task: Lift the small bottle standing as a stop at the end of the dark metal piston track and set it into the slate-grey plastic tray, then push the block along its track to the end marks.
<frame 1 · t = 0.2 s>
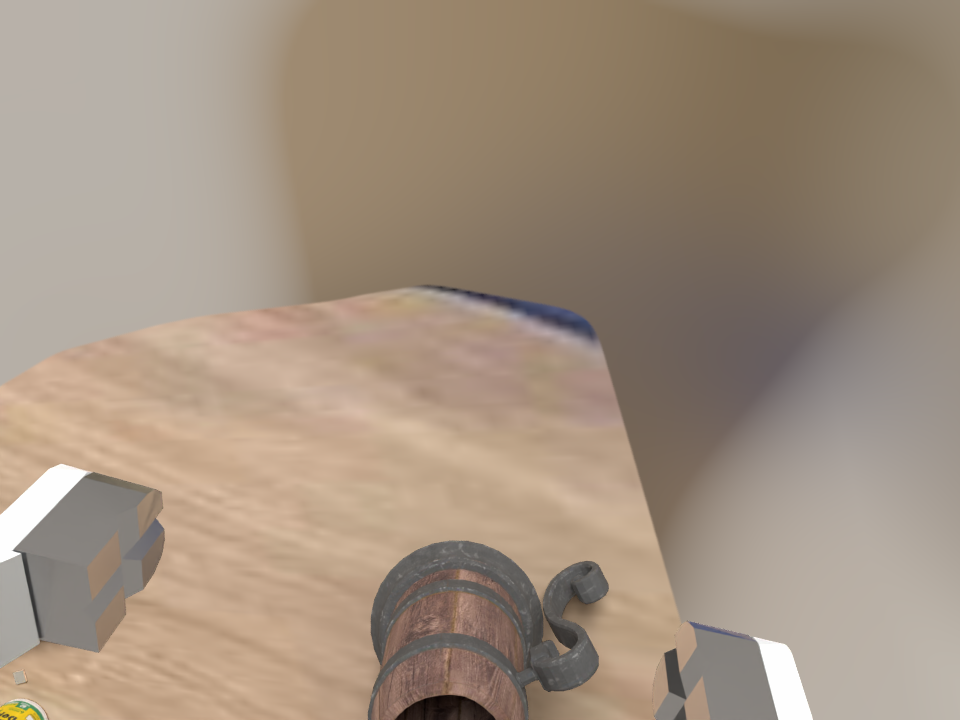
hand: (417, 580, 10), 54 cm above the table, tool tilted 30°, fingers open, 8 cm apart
tankard: (486, 609, 66), on the table
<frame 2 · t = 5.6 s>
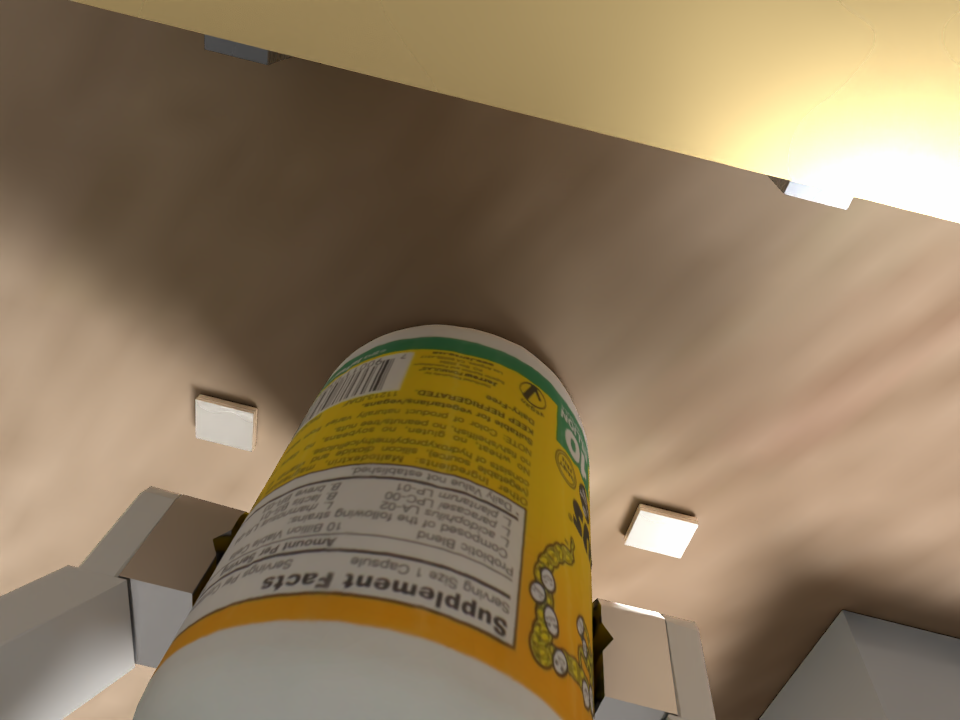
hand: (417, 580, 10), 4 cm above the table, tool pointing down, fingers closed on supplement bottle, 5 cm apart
supplement bottle: (454, 430, 14), on the table, touching gripper
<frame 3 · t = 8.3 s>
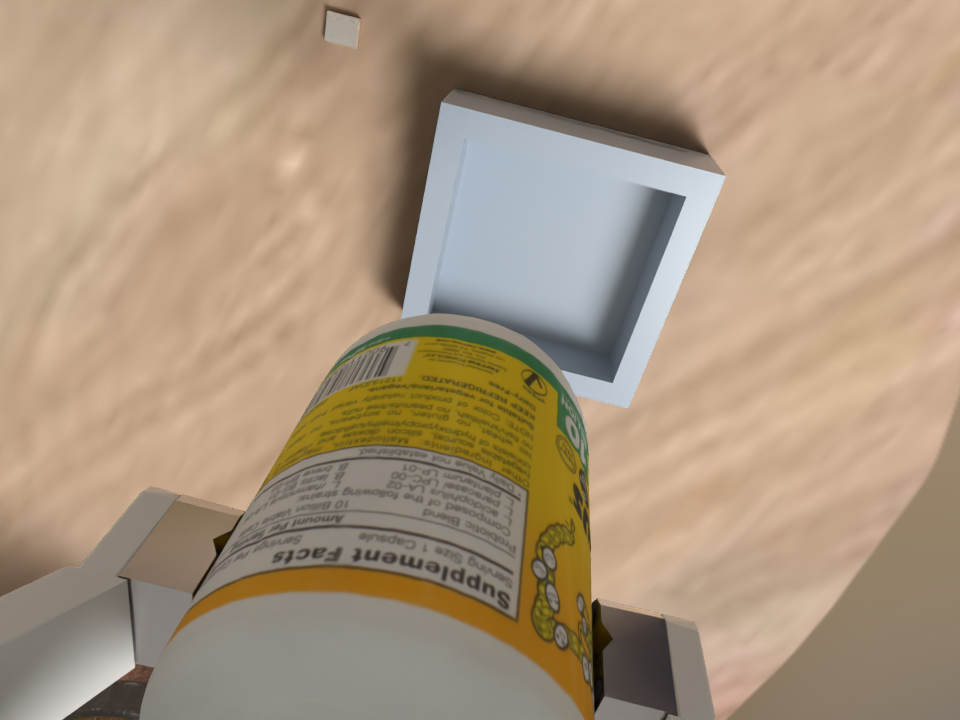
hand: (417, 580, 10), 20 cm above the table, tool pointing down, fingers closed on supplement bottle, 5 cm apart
tray: (546, 243, 28), on the table
supplement bottle: (456, 419, 14), point 16 cm above the table, touching gripper
tankard: (208, 703, 49), on the table
when the fingers open (6 cm above the table, at t = 11.5 s): supplement bottle stays where it is, resting on tray.
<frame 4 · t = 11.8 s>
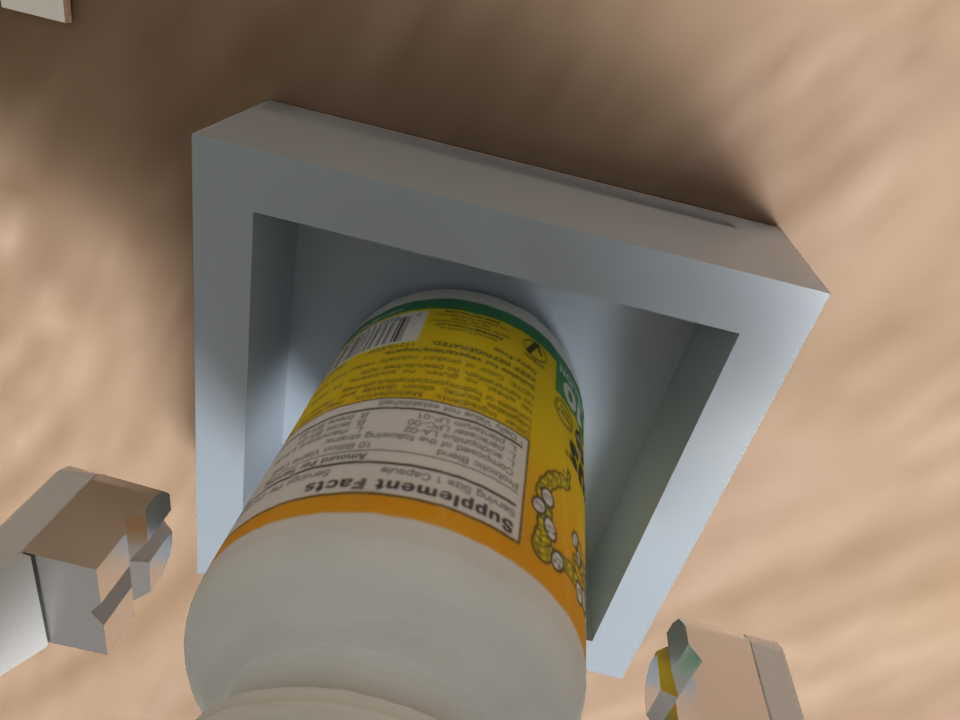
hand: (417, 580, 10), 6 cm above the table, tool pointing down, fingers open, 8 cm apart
tray: (471, 378, 15), on the table
supplement bottle: (461, 390, 15), point 1 cm above the table, touching tray
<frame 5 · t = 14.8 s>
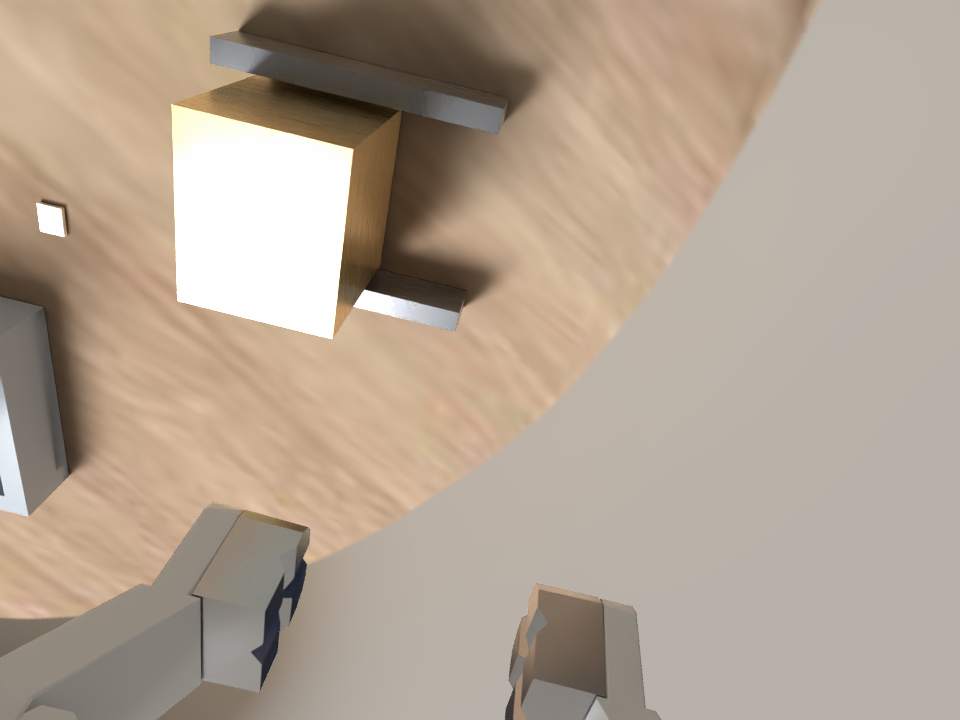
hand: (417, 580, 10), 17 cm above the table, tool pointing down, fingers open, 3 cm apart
block: (295, 200, 22), point 3 cm above the table, slide at 0.0 cm
piston track: (327, 173, 25), on the table
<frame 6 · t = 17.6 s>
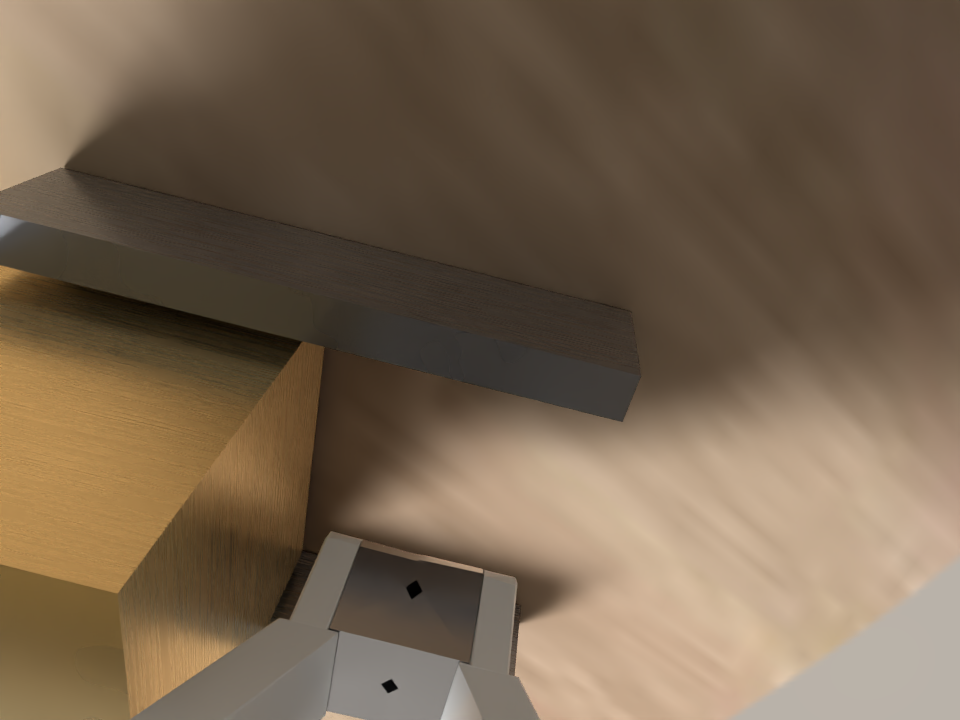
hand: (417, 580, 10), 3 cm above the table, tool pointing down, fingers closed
block: (86, 524, 10), point 3 cm above the table, slide at 1.3 cm, touching gripper
piston track: (260, 420, 13), on the table
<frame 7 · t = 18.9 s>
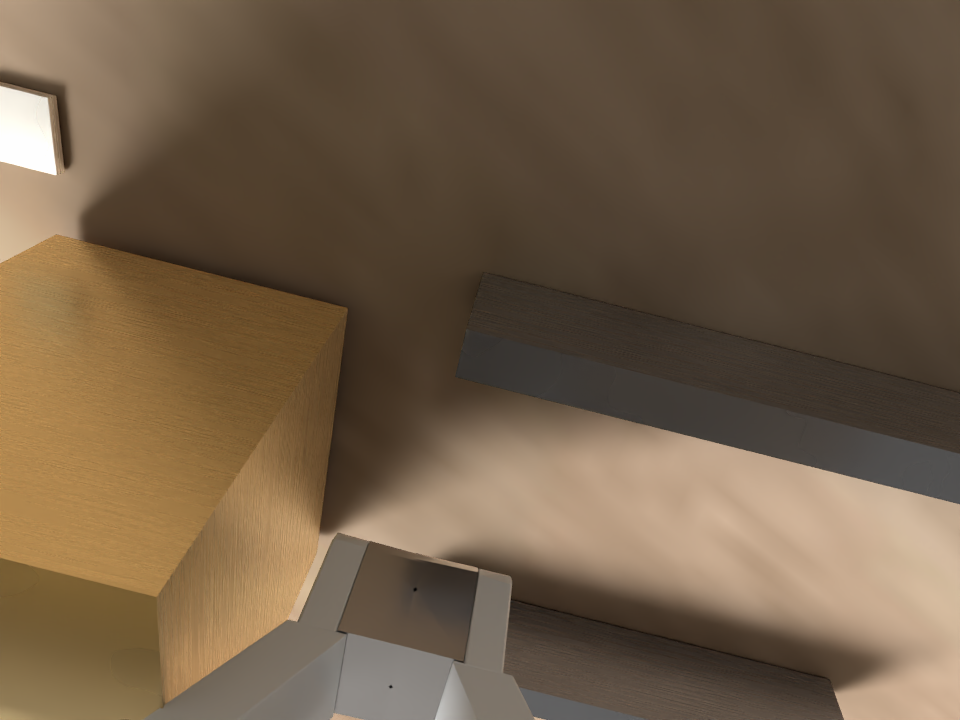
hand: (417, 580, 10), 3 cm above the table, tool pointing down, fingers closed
block: (108, 526, 10), point 3 cm above the table, slide at 8.1 cm, touching gripper
piston track: (612, 505, 13), on the table
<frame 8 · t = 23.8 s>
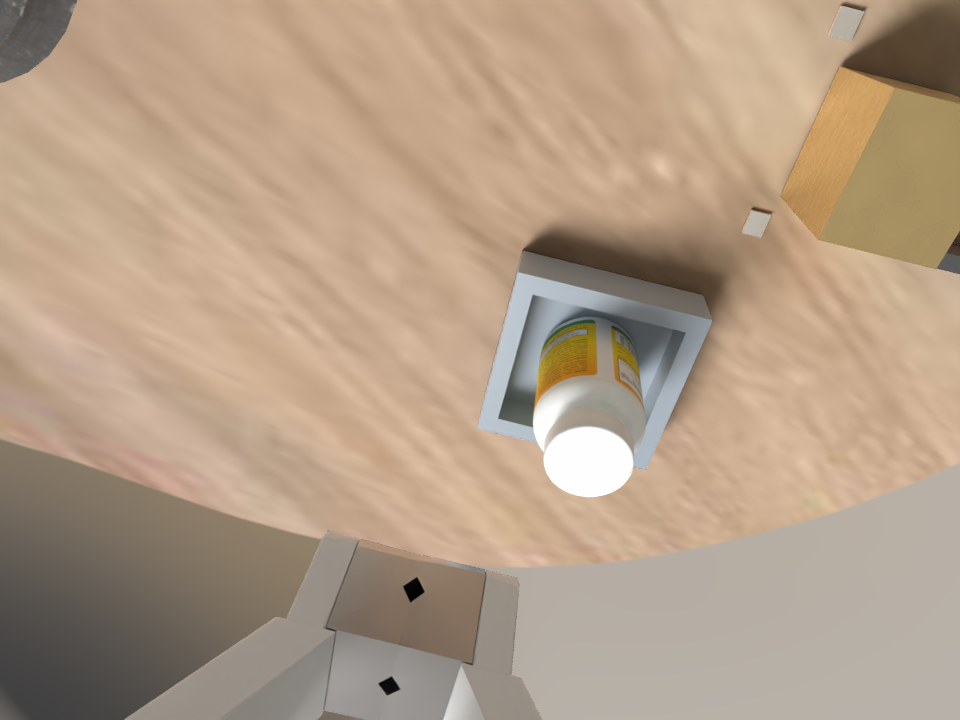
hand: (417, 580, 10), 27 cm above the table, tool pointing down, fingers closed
tray: (585, 350, 39), on the table
block: (886, 164, 29), point 3 cm above the table, slide at 8.0 cm
supplement bottle: (587, 353, 38), point 1 cm above the table, touching tray
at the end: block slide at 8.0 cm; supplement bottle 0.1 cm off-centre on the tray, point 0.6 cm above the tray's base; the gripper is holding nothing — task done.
